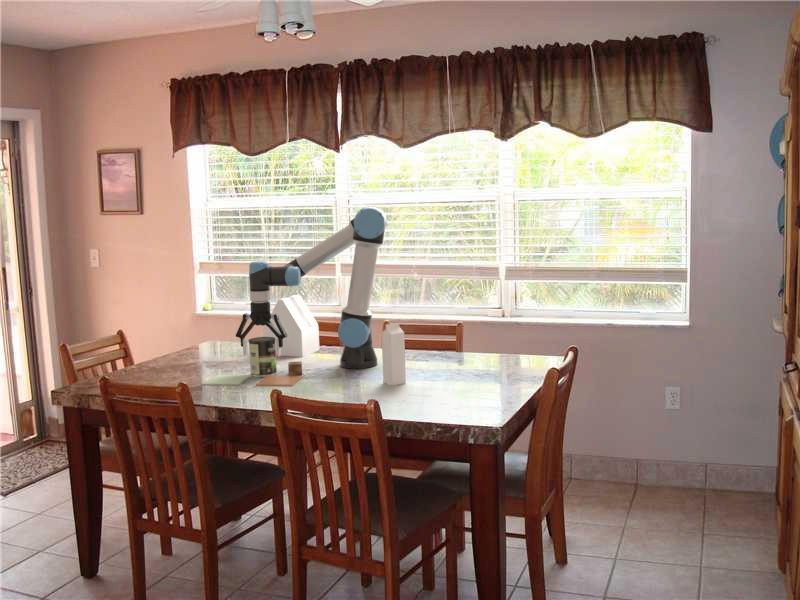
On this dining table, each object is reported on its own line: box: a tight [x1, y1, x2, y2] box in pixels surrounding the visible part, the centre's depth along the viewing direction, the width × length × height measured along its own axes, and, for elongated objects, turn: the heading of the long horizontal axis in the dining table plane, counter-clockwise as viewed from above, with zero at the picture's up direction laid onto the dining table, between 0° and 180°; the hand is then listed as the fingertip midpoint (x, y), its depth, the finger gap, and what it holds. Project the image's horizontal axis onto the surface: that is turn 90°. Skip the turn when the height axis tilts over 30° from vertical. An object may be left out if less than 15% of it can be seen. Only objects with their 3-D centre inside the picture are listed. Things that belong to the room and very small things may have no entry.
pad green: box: [201, 374, 252, 386], centre depth 298 cm, size 14×14×1 cm
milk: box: [381, 322, 407, 386], centre depth 285 cm, size 6×6×22 cm
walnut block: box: [287, 360, 303, 376], centre depth 304 cm, size 5×5×5 cm
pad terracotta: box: [255, 374, 304, 387], centre depth 295 cm, size 14×14×1 cm
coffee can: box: [248, 336, 278, 378], centre depth 307 cm, size 10×10×14 cm
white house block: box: [262, 294, 320, 358], centre depth 348 cm, size 19×15×25 cm
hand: (262, 355), depth 306 cm, fingers open, 13 cm apart
